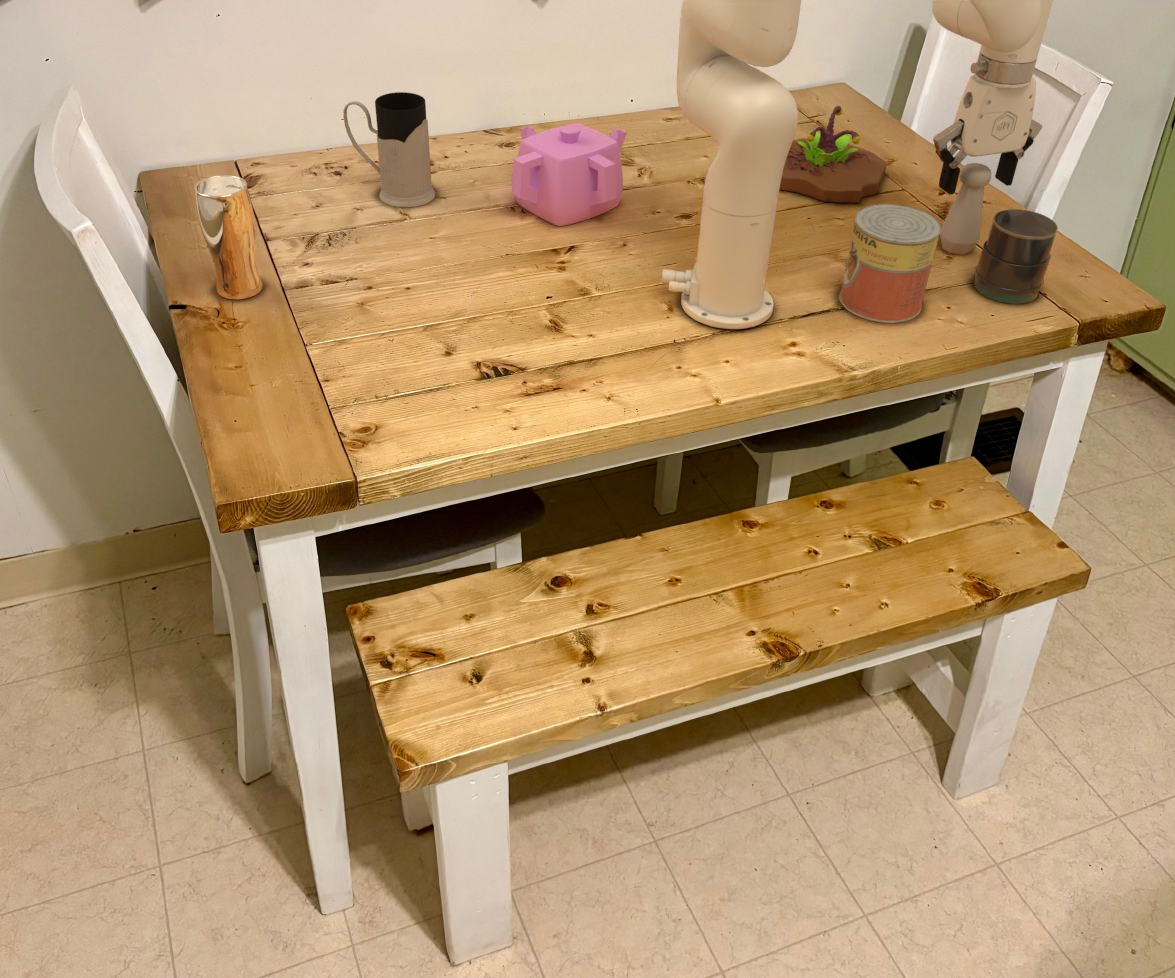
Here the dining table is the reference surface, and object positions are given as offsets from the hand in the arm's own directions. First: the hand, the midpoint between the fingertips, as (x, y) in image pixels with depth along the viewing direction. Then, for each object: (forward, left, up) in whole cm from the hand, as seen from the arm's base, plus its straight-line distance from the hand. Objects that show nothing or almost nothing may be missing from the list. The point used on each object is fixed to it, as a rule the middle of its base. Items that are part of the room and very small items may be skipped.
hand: (974, 186), depth 164 cm
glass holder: (-88, -1, -10) cm, 89 cm away
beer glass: (-99, -35, -10) cm, 106 cm away
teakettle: (-60, +2, -10) cm, 61 cm away
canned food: (-12, -19, -10) cm, 25 cm away
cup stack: (+6, -11, -10) cm, 16 cm away
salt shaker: (0, 0, -10) cm, 10 cm away
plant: (-20, +22, -10) cm, 31 cm away
